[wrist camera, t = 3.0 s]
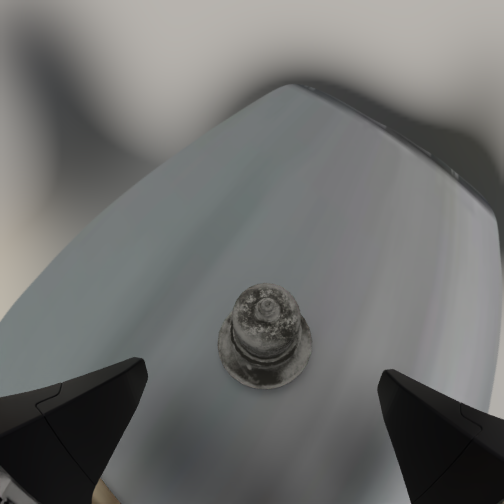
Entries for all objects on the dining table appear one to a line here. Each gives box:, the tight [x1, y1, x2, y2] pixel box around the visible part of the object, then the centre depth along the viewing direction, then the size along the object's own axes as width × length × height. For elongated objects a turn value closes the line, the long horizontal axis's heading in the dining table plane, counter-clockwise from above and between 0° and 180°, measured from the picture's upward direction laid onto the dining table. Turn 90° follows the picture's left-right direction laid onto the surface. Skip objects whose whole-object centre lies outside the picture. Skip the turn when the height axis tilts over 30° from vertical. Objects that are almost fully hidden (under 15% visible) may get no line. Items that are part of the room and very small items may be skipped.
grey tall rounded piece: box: [218, 283, 312, 389], centre depth 16 cm, size 6×6×12 cm
